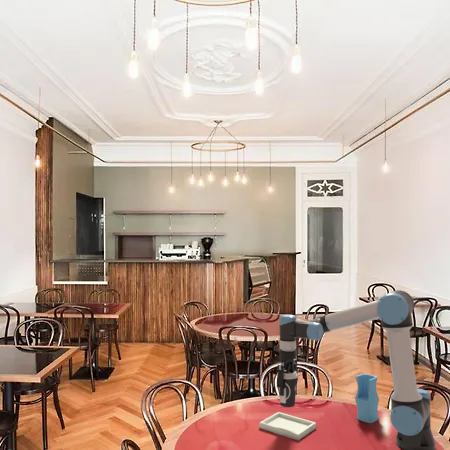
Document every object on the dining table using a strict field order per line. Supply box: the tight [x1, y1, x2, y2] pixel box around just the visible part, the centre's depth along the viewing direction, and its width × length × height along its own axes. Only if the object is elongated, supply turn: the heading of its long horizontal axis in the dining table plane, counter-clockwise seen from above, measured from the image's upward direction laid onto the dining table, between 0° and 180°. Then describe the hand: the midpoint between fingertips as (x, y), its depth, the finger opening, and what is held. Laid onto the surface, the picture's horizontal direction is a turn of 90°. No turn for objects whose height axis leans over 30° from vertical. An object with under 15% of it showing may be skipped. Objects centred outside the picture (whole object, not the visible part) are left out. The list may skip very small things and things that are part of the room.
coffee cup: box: [276, 370, 299, 408], centre depth 204 cm, size 10×10×15 cm
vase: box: [354, 373, 380, 424], centre depth 215 cm, size 8×8×20 cm
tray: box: [259, 411, 317, 441], centre depth 204 cm, size 20×16×2 cm
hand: (287, 399), depth 204 cm, fingers closed on coffee cup, 7 cm apart
